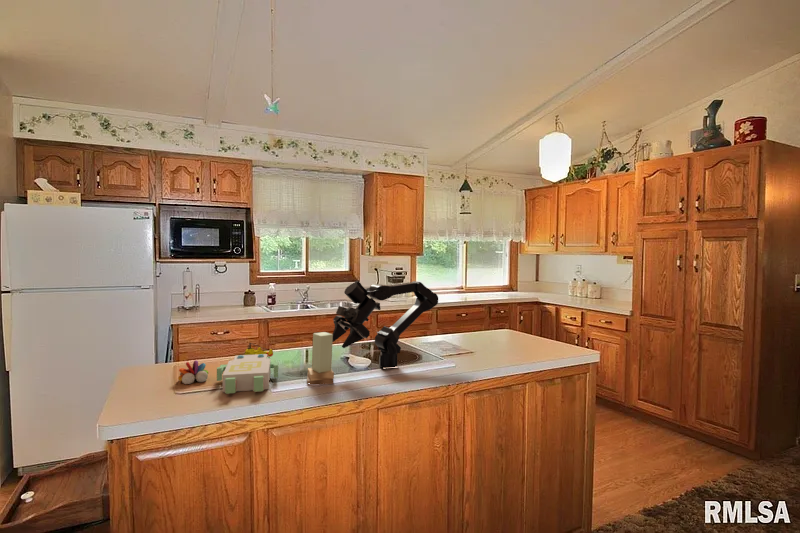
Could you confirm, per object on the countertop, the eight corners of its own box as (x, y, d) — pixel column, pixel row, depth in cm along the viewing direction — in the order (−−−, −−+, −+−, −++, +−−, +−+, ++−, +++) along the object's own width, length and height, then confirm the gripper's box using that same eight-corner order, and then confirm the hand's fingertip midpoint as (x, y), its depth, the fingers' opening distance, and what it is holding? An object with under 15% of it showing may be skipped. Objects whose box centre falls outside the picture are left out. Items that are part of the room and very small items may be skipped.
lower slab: (332, 377, 160) (332, 371, 160) (333, 385, 151) (333, 379, 151) (307, 379, 158) (307, 373, 158) (307, 387, 150) (306, 381, 149)
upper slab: (329, 371, 160) (329, 366, 160) (333, 378, 152) (333, 372, 152) (307, 373, 157) (307, 368, 157) (310, 380, 150) (310, 374, 150)
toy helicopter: (274, 362, 176) (274, 338, 175) (241, 375, 159) (240, 348, 159) (262, 360, 178) (262, 336, 178) (228, 372, 162) (227, 346, 162)
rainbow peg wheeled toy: (176, 380, 153) (176, 360, 153) (205, 375, 159) (205, 356, 158) (180, 387, 146) (180, 366, 146) (211, 381, 152) (210, 361, 152)
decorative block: (223, 354, 161) (278, 351, 165) (223, 371, 161) (279, 367, 166) (210, 378, 136) (276, 374, 141) (211, 398, 136) (276, 393, 141)
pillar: (323, 367, 158) (325, 331, 157) (331, 370, 154) (332, 334, 154) (311, 369, 155) (313, 333, 154) (319, 372, 151) (320, 336, 150)
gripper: (337, 294, 167) (311, 326, 161) (362, 301, 152) (334, 336, 146) (355, 312, 172) (330, 343, 167) (381, 321, 157) (354, 355, 152)
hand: (336, 344), depth 158 cm, fingers open, 9 cm apart
